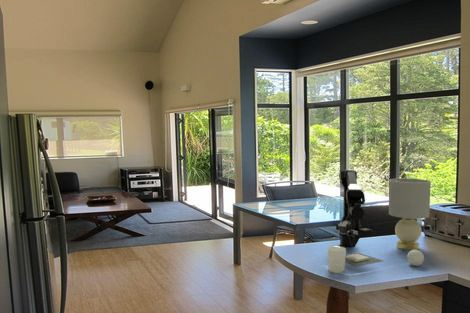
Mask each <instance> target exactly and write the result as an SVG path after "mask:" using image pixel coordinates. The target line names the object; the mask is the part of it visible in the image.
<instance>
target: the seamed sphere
mask: <svg viewBox="0 0 470 313" xmlns="http://www.w3.org/2000/svg"><path fill="white" fill-rule="evenodd" d="M406 258H407V259H406V260H407V261H408V263H409V264H410V265H411V266H414V267H419V266H421V265H422V264H423V263H424V262H425V256H424V254H423V252H422V251H421V250H419V249H417V250H409V251H408V253H407V255H406Z"/></svg>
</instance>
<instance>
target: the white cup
mask: <svg viewBox="0 0 470 313" xmlns="http://www.w3.org/2000/svg"><path fill="white" fill-rule="evenodd" d="M346 255H347V248H345V247H342V246H339V245H337V246H336V245H332V246H328V247H327V264H328V272H329V273H334V274H342V273H344V272H345V266H346V263H345V258H346Z"/></svg>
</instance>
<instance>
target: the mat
mask: <svg viewBox="0 0 470 313" xmlns="http://www.w3.org/2000/svg"><path fill="white" fill-rule="evenodd" d="M352 254H353V253H351V254H350V255H352ZM355 254H360V255H363V256H366V257H370V260H365V261H360V262H356V261H353V260H350V259H347V258H345V264H347V265H350V266H353V267H361V266H366V265H371V264H377V263H382V262H384V260H382V259H380V258H376V257H373V256H370V255H367V254H363V253H361V252H357V253H355Z"/></svg>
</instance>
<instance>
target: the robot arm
mask: <svg viewBox="0 0 470 313" xmlns="http://www.w3.org/2000/svg"><path fill="white" fill-rule="evenodd" d="M357 180H358V172H357V171H356V170H355V169H351V168H350V169H344V170H342V171H340V172H339V181H340V184H341V186H342V188H343V205H342V206H343V208H342V209H343V214H342V217H341V219H340V220H339V221H340V222H339V223H337V224H336V225H335V229H336V230H337V232H338V233H337V234H338V236H340V241H339V242H340V243H339V244H338V246H339V247H344V248H346V249H347V248H356V246H357V243H358V242H359V240H360V238H361V237H372V236H373V233H374V232H373V230H372V229H370V228H366V227H365V228H363V225H361V220H363V217H364V215H365V210H364V209H363V208H362V205H365V203H366V196H365V193H364V191H363V190H362V187H361V186H360V185H358V182H357Z"/></svg>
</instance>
